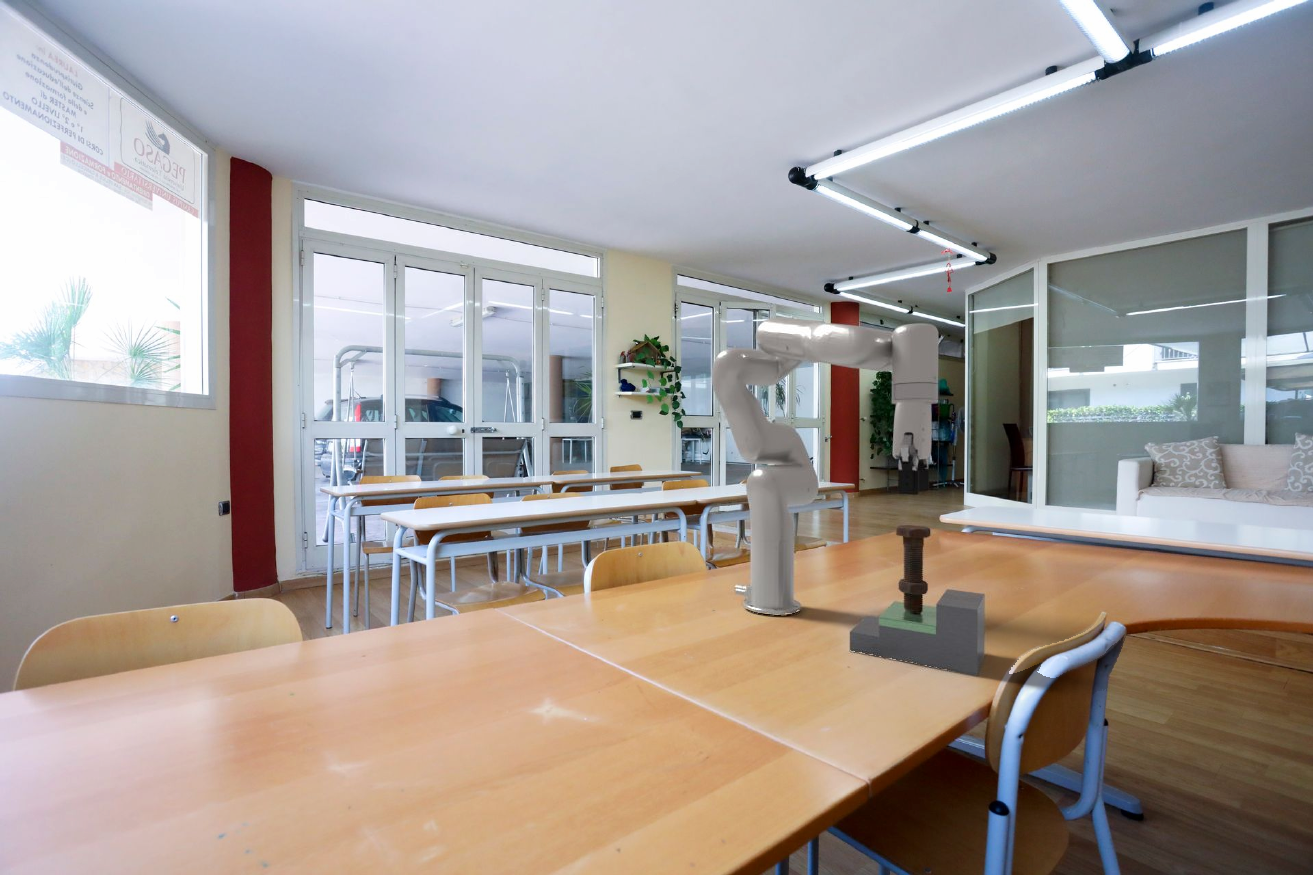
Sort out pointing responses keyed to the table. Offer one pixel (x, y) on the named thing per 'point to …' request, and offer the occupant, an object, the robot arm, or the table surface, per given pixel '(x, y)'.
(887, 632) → the stepped stand
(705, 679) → the table surface
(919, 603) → the bolt
